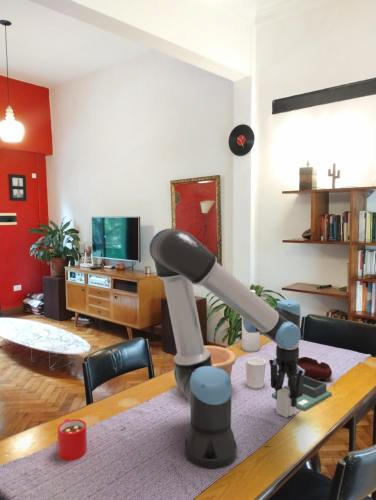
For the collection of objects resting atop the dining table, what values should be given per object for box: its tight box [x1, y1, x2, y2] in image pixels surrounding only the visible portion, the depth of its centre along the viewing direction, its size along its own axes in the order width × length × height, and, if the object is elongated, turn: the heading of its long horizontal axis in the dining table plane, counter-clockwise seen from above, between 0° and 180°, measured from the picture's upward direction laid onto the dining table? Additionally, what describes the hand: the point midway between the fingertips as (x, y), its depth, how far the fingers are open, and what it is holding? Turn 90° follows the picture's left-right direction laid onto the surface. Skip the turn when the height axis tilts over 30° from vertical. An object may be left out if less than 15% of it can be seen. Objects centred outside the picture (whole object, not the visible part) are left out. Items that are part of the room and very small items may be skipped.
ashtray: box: [296, 356, 333, 382], centre depth 168 cm, size 18×16×5 cm
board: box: [271, 376, 333, 412], centre depth 148 cm, size 18×14×4 cm
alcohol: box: [241, 289, 261, 353], centre depth 197 cm, size 9×9×30 cm
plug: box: [275, 385, 296, 418], centre depth 135 cm, size 5×4×8 cm
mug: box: [57, 418, 88, 462], centre depth 115 cm, size 8×12×8 cm, turn 34°
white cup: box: [245, 356, 267, 390], centre depth 157 cm, size 8×8×10 cm
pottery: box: [204, 345, 237, 378], centre depth 152 cm, size 22×22×14 cm
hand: (285, 411), depth 136 cm, fingers closed on plug, 4 cm apart
